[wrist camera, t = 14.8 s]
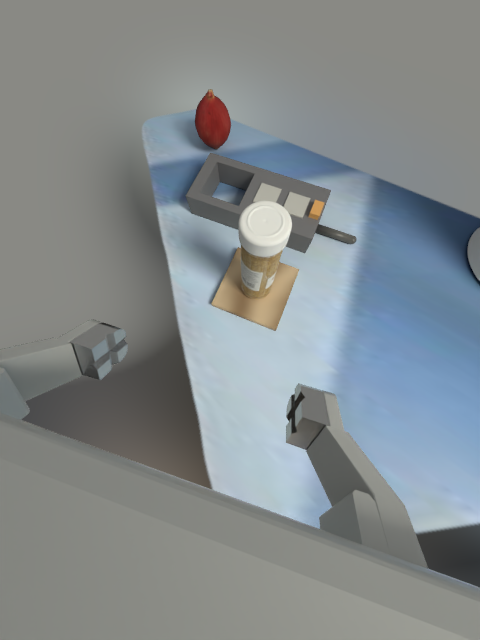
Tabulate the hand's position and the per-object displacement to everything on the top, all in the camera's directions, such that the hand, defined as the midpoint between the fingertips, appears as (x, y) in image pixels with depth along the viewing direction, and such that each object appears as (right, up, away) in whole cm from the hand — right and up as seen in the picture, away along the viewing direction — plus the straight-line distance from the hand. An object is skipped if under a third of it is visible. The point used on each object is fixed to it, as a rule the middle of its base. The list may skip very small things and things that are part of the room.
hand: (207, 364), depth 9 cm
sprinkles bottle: (+4, +7, +21) cm, 22 cm away
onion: (-3, +34, +28) cm, 44 cm away
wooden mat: (+4, +7, +21) cm, 23 cm away
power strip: (+7, +19, +24) cm, 32 cm away
